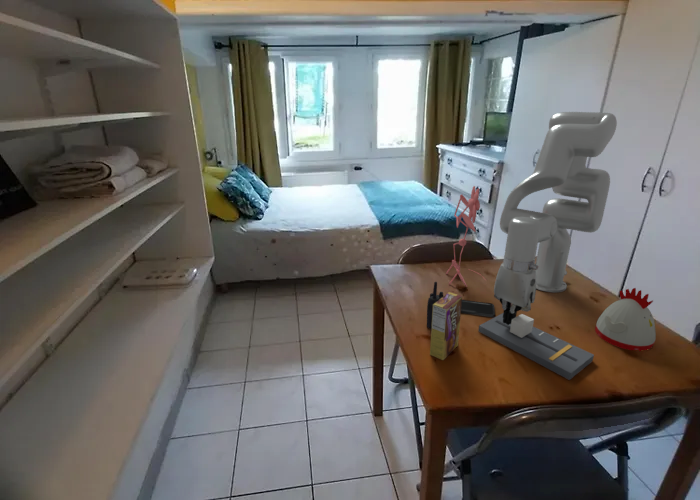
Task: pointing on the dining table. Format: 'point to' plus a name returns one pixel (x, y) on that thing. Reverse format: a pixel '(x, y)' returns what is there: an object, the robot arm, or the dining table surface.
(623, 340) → the kitchen timer
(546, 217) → the robot arm
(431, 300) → the two-way radio
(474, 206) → the figurine
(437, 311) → the candy box
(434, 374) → the dining table surface
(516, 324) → the fader cap
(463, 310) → the phone
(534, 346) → the fader console
